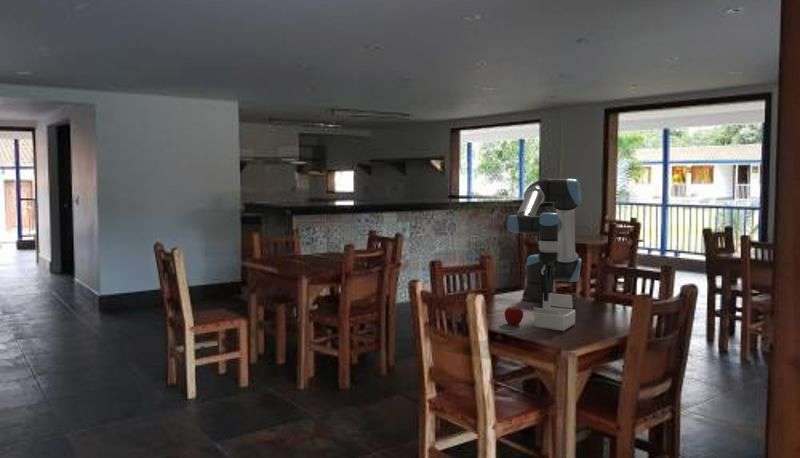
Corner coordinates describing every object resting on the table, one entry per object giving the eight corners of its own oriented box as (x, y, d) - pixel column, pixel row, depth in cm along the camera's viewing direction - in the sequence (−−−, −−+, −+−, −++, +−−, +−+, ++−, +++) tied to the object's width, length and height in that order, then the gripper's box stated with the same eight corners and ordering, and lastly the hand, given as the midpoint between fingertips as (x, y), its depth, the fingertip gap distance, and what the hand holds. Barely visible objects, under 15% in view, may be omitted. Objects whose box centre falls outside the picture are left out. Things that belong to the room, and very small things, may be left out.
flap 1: (561, 315, 258) (560, 315, 258) (537, 311, 263) (537, 312, 263) (557, 310, 253) (556, 310, 253) (533, 307, 258) (533, 307, 258)
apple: (521, 322, 272) (521, 304, 272) (524, 326, 264) (524, 308, 264) (503, 322, 272) (503, 304, 272) (505, 326, 265) (506, 308, 264)
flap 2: (549, 305, 276) (550, 305, 276) (572, 308, 271) (572, 308, 271) (548, 293, 274) (549, 293, 274) (571, 296, 268) (571, 295, 269)
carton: (546, 319, 277) (546, 306, 277) (575, 323, 270) (576, 310, 270) (533, 326, 265) (534, 312, 264) (564, 331, 258) (565, 316, 257)
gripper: (544, 248, 262) (543, 304, 265) (533, 252, 251) (531, 310, 254) (562, 250, 258) (560, 306, 261) (551, 253, 247) (549, 312, 250)
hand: (546, 308), depth 257 cm, fingers closed
